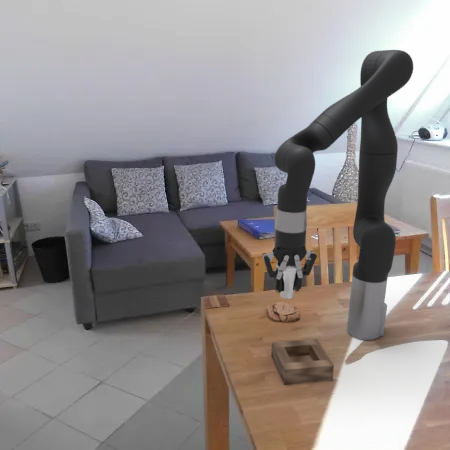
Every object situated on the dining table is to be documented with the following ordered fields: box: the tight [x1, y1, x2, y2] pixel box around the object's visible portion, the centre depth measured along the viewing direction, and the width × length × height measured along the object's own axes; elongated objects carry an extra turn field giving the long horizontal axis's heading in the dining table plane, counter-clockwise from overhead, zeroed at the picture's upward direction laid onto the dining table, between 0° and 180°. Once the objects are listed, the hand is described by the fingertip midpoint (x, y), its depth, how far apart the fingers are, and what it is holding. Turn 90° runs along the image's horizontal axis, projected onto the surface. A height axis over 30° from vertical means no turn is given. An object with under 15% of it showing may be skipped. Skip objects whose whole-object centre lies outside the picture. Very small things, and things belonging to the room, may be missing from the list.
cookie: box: [265, 301, 301, 324], centre depth 147 cm, size 10×11×3 cm
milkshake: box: [279, 260, 302, 300], centre depth 123 cm, size 5×5×10 cm
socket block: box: [270, 338, 335, 385], centre depth 121 cm, size 12×12×4 cm
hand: (287, 290), depth 124 cm, fingers closed on milkshake, 4 cm apart
